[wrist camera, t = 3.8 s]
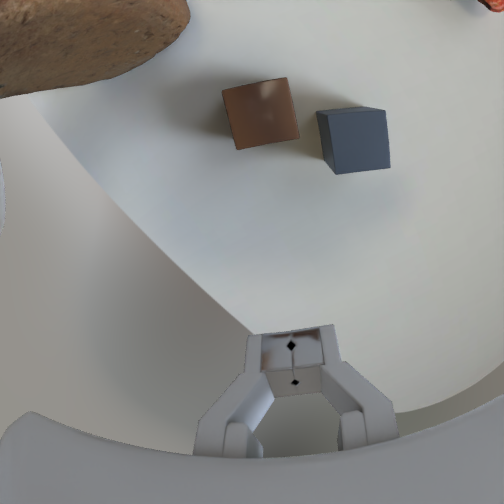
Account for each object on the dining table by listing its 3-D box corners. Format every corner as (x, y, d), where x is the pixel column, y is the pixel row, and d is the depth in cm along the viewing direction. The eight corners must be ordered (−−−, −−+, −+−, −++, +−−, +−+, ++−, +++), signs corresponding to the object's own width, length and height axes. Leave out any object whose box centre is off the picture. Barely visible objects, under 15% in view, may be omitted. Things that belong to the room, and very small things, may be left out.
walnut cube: (242, 140, 22) (236, 150, 18) (229, 91, 19) (220, 90, 16) (294, 130, 21) (300, 138, 17) (283, 81, 19) (286, 76, 15)
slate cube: (324, 160, 22) (335, 175, 18) (315, 111, 20) (326, 114, 16) (371, 155, 21) (390, 168, 18) (365, 106, 19) (385, 110, 15)
